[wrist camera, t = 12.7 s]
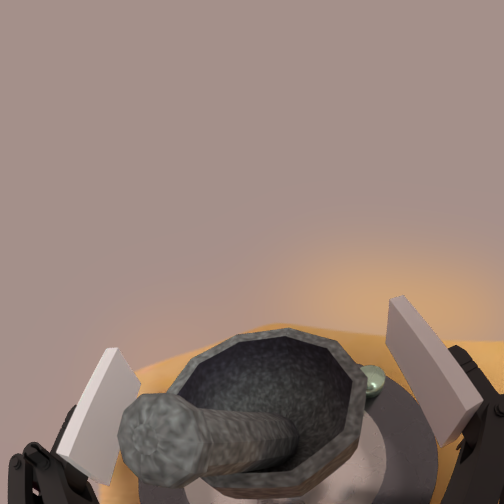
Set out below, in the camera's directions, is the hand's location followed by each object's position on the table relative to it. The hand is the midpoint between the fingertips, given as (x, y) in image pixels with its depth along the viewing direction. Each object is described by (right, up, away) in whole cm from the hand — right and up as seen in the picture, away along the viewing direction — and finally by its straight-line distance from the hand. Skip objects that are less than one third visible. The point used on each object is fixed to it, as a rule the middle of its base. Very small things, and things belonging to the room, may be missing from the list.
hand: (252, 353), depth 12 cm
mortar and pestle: (+2, -9, +1) cm, 9 cm away
